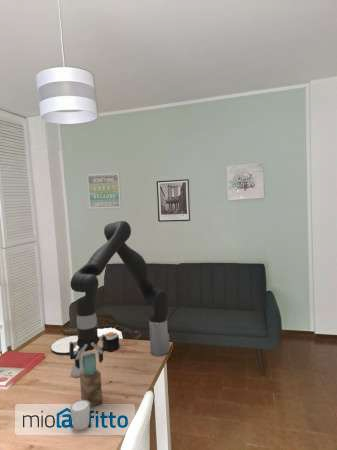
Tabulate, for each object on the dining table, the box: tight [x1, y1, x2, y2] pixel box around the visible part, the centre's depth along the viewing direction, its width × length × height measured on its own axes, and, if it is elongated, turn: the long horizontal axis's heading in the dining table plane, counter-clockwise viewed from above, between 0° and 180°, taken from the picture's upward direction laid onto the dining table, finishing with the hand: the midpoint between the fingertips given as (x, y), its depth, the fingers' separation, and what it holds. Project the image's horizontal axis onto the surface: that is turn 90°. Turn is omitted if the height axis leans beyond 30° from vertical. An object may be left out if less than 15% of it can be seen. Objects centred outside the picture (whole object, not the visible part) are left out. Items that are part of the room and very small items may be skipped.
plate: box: [50, 335, 79, 354], centre depth 172 cm, size 21×21×2 cm
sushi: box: [104, 331, 120, 353], centre depth 167 cm, size 8×8×8 cm
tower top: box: [79, 368, 102, 394], centre depth 122 cm, size 6×6×6 cm
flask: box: [70, 351, 83, 378], centre depth 144 cm, size 7×7×10 cm
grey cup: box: [69, 399, 91, 431], centre depth 110 cm, size 7×7×7 cm
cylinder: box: [81, 352, 97, 376], centre depth 122 cm, size 5×5×7 cm
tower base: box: [80, 387, 103, 409], centre depth 123 cm, size 7×7×6 cm
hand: (89, 364), depth 122 cm, fingers open, 8 cm apart
